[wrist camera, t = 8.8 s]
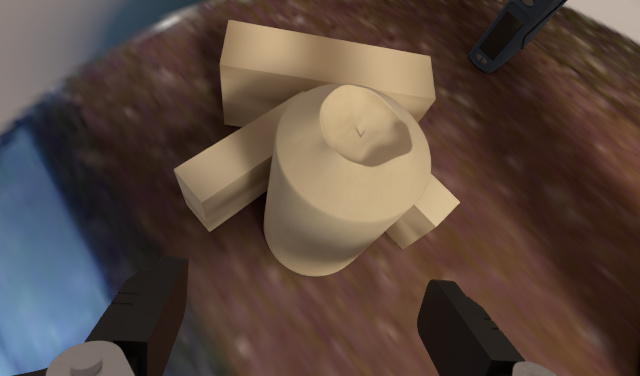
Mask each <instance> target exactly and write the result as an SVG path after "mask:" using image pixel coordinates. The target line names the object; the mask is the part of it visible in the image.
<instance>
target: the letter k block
mask: <svg viewBox="0 0 640 376" xmlns="http://www.w3.org/2000/svg"><path fill="white" fill-rule="evenodd" d="M220 75H221V88H222V100H223V112H224V125H231V126H238V127H242V128H241V129H239V130H237V131H236V132H234V133H232V134H231V135H229V136H228V137H226V138H224V139H223V140H221V141H219V142H218V143H216V144H214V145H213V146H211V147H209V148H208V149H206V150H205V151H203V152H201V153H200V154H198V155H196V156H195V157H193V158H191V159H190V160H188V161H186V162H185V163H183V164H181V165H180V166H178V167H177V168H175V169H174V172H175V175H176V178H177V180H178V183H179V186H180V188H181V191H182V194H183V196H184V199H185V202H186V204H187V206H188V207H189V208H190V209H191V210H192V212H193V213H194V214H195V215H196V216H197V218H198V219H199V220H200V221H201V223H202V224H203V225H204V226H205V227H206V229H207V230H208V231H209V232H211V231H212V230H213V229H215V228H216V227H217V226H219V225H220V224H222V223H223V222H224V221H226V220H227V219H229V218H230V217H231V216H233V215H234V214H235V213H237V212H238V211H240V210H241V209H242V208H244V207H245V206H247V205H248V204H249V203H251V202H252V201H253V200H255V199H256V198H258V197H259V196H260V195H262V194H263V193H265V192H266V191H267V190H268V185H269V178H270V171H271V164H272V156H273V149H274V142H275V135H276V130H277V126H278V123H279V121H280V118H281V116H282V115H283V113H284V111H285V110H286V108H287V107H288V106H289V105H290V104H291V103H292V102H293V101H294V100H295V99H296V98H297V97H299V96H300V95H302V94H303V93H305V92H307V91H309V90H311V89H314V88H317V87H319V86H324V85H329V84H355V85H361V86H366V87H369V88H372V89H375V90H377V91H380V92H382V93H384V94H386V95H387V96H389V97H391V98H392V99H394V100H395V101H397V102H398V103H399V104H400V105H402V106H403V107H404V108H405V109H406V110H407V111H408V112H409V113H410V114H411V115H412V117H413V118H414V119H415V121H416V122H417V123H418V122H419V121H420V120H421V118H422V117H423V116H424V114H425V113H426V112H427V110H428V109H429V108H430V106H431V105H432V103H433V102H434V101H435V99H436V97H435V90H434V82H433V74H432V67H431V59H430V56H426V55H420V54H415V53H409V52H404V51H398V50H393V49H387V48H382V47H376V46H371V45H365V44H360V43H354V42H348V41H343V40H337V39H332V38H326V37H321V36H315V35H310V34H304V33H299V32H293V31H288V30H282V29H277V28H271V27H265V26H260V25H254V24H249V23H243V22H238V21H232V20H229V21H228V26H227V30H226V35H225V40H224V45H223V50H222V55H221V60H220ZM459 203H460V202H459V201H458V200H457V199H456V198H455V197H454V196H453V195H452V194H451V193H450V192H449V191H448V190H447V189H446V188H445V187H444V186H443V185H442V184H441V183H440V182H439V181H438V180H437V179H436V178H435V177H434V176H433V175H432V174H431V173H430V177H429V181H428V184H427V186H426V189H425V191H424V192H423V194H422V195H421V197H420V198H419V200H418V201H417V202H416V203H415V204H414V205H413V206H412V207H411V208H410V209H409V210H408V211H407V212H406V213H404V214H403V215H402V216H401V217H400V218H399V219H398V220H397V221H396V222H395V223H394V224H392V225H391V226H390V227H389V228H388V229H387V230H386V231H385V232H386V233H387V234H388V235H389V236H390V237H391V238H392V239H393V240H394V241H395V242H396V243H397V244H398V245H399V246H400V247H401V248H402V250H403V249H404V248H406V247H407V246H409V245H410V244H412V243H413V242H415V241H416V240H417V239H419V238H420V237H422V236H423V235H425V234H426V233H428V232H429V231H431V230H432V229H434V228H435V227H437V226H438V225H439V224H440V222H441V221H442V220H443V219H444V218H445V217H446V216H447V215H448V214H449V213H450V212H451V211H452V210H453V209H454V208H455V207H456V206H457V205H458V204H459Z"/></svg>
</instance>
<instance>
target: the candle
mask: <svg viewBox="0 0 640 376" xmlns="http://www.w3.org/2000/svg"><path fill="white" fill-rule="evenodd" d="M430 171H431V156H430V150H429V146H428V143H427V140H426V138H425V136H424V133H423V131H422V130H421V128H420V126H419V125H418V123H417V122H416V121H415V119H414V118H413V117H412V115H411V114H410V113H409V112H408V111H407V110H406V109H405V108H404V107H403V106H402V105H400V104H399V103H398V102H397V101H395V100H394V99H392V98H391V97H389V96H387V95H386V94H384V93H382V92H380V91H377V90H375V89H372V88H369V87H366V86H361V85H355V84H329V85H324V86H319V87H317V88H314V89H311V90H309V91H307V92H305V93H303V94H302V95H300V96H299V97H297V98H296V99H295V100H294V101H293V102H292V103H291V104H290V105H289V106H288V107H287V108H286V110H285V111H284V113H283V115H282V116H281V118H280V121H279V123H278V126H277V130H276V135H275V142H274V149H273V156H272V164H271V171H270V178H269V185H268V192H267V199H266V207H265V214H264V234H265V238H266V241H267V244H268V246H269V248H270V250H271V252H272V253H273V255H274V256H275V257H276V259H277V260H278V261H279V262H280V263H281V264H283V265H284V266H285V267H287V268H288V269H290V270H292V271H294V272H296V273H299V274H302V275H307V276H324V275H329V274H332V273H335V272H337V271H339V270H341V269H343V268H344V267H345V266H347V265H348V264H349V263H350V262H352V261H353V260H354V259H355V258H356V257H357V256H358V255H360V254H361V253H362V252H363V251H364V250H365V249H366V248H367V247H368V246H369V245H371V244H372V243H373V242H374V241H375V240H376V239H377V238H378V237H379V236H380V235H381V234H383V233H384V232H385V231H386V230H387V229H388V228H389V227H390V226H391V225H392V224H394V223H395V222H396V221H397V220H398V219H399V218H400V217H401V216H402V215H403V214H404V213H406V212H407V211H408V210H409V209H410V208H411V207H412V206H413V205H414V204H415V203H416V202H417V201H418V200H419V198H420V197H421V195H422V194H423V192H424V191H425V189H426V186H427V184H428V181H429V177H430Z"/></svg>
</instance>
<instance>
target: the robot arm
mask: <svg viewBox="0 0 640 376" xmlns="http://www.w3.org/2000/svg"><path fill="white" fill-rule="evenodd" d="M187 279H188V258H183V257H171V256H162V257H161V258H160V260H159V261H158V263H157V265H156V267H155V268H154V270H153V272H151V271H140V272H138V273H137V274H135V275H134V276H132V277H131V278H129V279H128V280H126V282H125V283H124V284H123V286H122V287H121V289H120V290H119V292H118V295H116V296H115V298H114V299H113V301H112V302H111V305H109V307H108V308H107V310H106V311H105V312H104V314H103V315H102V317H101V318H100V320H99V321H98V323H97V324H96V326H95V327H94V329H93V330H92V332H91V333H90V335H89V336H88V338H87V339H86V340H85V342H84V343H82V344H78V345H76V346H73V347H71V348H69V349H67V350H66V351H64V352H63V353H61V354H60V355H59V356H57V357H56V358H55V359H54V360H53V361H52V363H51V364H50V365H49V367H48V368H45V369H42V370H38V371H34V372H29V373H24V374H19V375H14V376H162V375H163V373H164V370H165V367H166V364H167V362H168V359H169V356H170V353H171V351H172V348H173V345H174V342H175V340H176V337H177V334H178V331H179V329H180V326H181V323H182V320H183V317H184V312H185V307H186V298H187ZM417 328H418V333H419V336H420V338H421V340H422V342H423V344H424V346H425V348H426V350H427V352H428V354H429V356H430V358H431V360H432V361H433V363H434V365H435V367H436V369H437V371H438V373H439V375H440V376H557V375H555V374H554V373H553V372H551V371H550V370H548V369H546V368H544V367H542V366H540V365H538V364H535V363H531V362H526V361H525V360H524V358H523V357H522V356H521V355H520V354H519V352H518V351H517V350H516V349H515V347H514V346H513V345H512V344H511V342H510V341H509V340H508V339H507V337H506V336H505V335H504V334H503V333H502V331H500V330H499V328H498V326H497V325H496V324H495V323H494V321H491V318H490V316H489V315H488V314H487V313H486V312H485V310H484V309H483V308H482V307H481V306H480V305H478V304H477V303H476V302H474V301H473V300H472V299H470V298H469V297H467V296H466V295H465V294H464V293H463V291H462V290H461V289H460V287H459V286H458V285H457V284H456V283H455V282H454V281H446V280H434V279H432V280H430V281H429V283H428V285H427V288H426V292H425V295H424V298H423V301H422V305H421V308H420V311H419V314H418V319H417Z"/></svg>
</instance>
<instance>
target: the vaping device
mask: <svg viewBox="0 0 640 376" xmlns="http://www.w3.org/2000/svg"><path fill="white" fill-rule="evenodd" d="M566 1H567V0H509V1H508V2H507V3H506V5H505V6H504V7H503V9H502V10H501V11H500V12H499V13H498V15H497V17H496V18H495V19H494V21H493V22H492V23H491V25H490V26H489V27H488V29H487V30H486V32H485V33H484V34H483V36H482V37H481V38H480V40H479V41H478V42H477V44H476V45H475V46H474V48H473V49H472V50H471V52H470V53H469V55H468V57H470V59H471V61H472V62H473V63H474V64H475V65H476V66H477V67H478V68H479V69H481V70H483V71H485V72H486V73H492V72H493V71H495V70H496V69H497V68H499V67H500V66H502V65H503V64H505V63H506V62H507V61H509V60H510V59H512V58H513V57H514V56H515V55H516V54H517V53H518V52H519V50H520V49H523V48H524V47H525V46H526V45H527V44H528V43H529V42H530V41H531V40H532V39H533V38H534V36H535V35H536V34H537V33H538V32H539V31H540V30H541V29H542V28H543V27H544V25H545V24H546V23H547V22H548V21H549V20H550V19H551V18H552V17H553V16H554V14H555V13H556V12H557V11H558V10H559V9H560V8H561V7H562V6H563V5H564V3H565V2H566Z"/></svg>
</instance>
